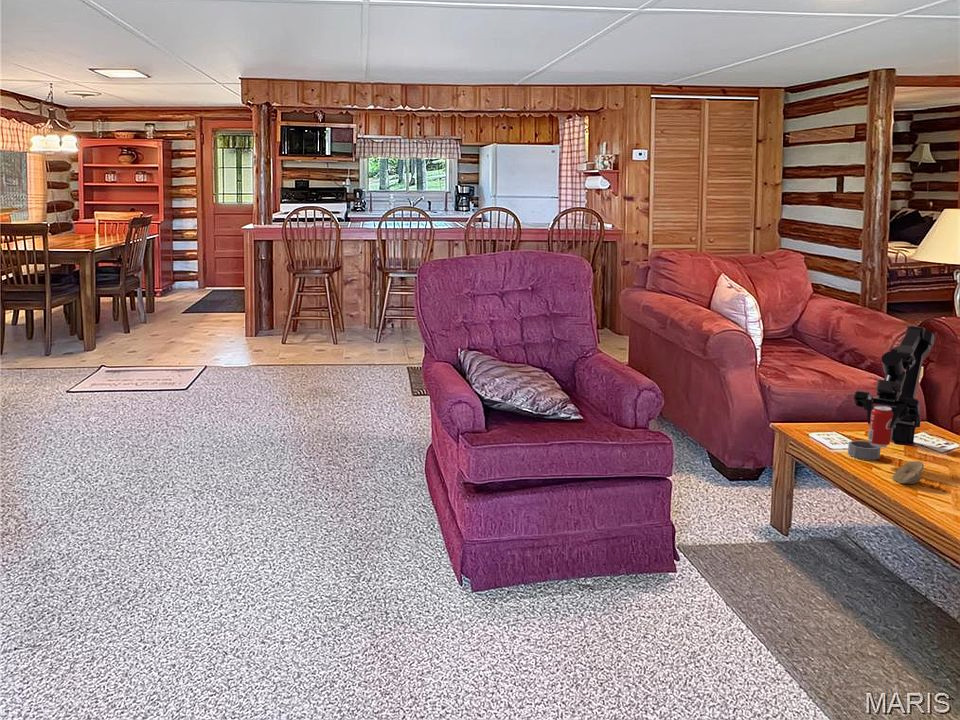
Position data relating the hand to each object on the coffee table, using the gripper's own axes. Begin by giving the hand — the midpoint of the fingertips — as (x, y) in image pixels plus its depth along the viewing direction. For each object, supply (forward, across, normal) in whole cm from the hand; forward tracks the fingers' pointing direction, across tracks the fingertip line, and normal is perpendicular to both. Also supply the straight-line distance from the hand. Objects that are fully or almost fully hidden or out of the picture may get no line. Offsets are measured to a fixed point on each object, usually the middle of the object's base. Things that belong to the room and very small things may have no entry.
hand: (879, 425), depth 278 cm
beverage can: (+4, 0, +6) cm, 7 cm away
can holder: (+4, -6, +14) cm, 16 cm away
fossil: (+18, +12, 0) cm, 21 cm away
